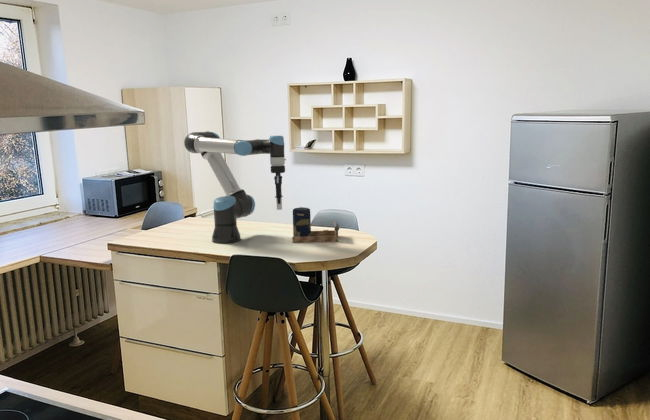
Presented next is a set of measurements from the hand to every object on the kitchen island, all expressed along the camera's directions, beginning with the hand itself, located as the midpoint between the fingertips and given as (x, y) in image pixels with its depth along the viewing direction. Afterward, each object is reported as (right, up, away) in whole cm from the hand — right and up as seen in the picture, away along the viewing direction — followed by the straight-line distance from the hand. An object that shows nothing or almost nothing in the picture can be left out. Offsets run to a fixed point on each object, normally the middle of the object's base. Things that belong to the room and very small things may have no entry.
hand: (279, 209), depth 279 cm
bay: (+19, -16, +3) cm, 25 cm away
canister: (+12, -16, +3) cm, 21 cm away
